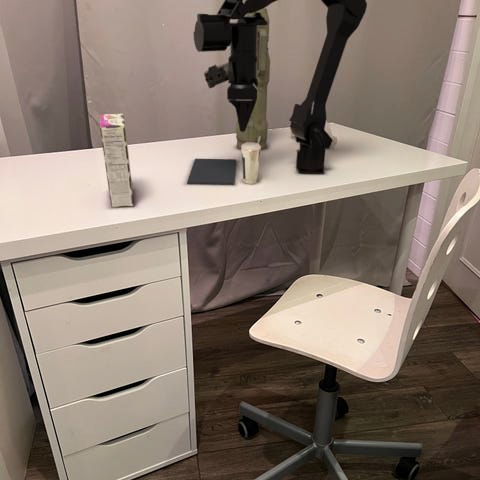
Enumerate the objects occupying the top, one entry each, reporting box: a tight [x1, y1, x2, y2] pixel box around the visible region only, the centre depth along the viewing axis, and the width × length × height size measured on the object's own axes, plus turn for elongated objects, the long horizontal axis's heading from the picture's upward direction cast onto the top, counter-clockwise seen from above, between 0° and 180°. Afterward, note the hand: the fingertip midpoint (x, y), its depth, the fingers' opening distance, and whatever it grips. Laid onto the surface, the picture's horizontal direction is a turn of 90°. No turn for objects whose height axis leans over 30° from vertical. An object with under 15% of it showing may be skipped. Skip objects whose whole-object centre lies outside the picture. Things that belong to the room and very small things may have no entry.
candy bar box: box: [99, 113, 135, 209], centre depth 107 cm, size 11×5×16 cm, turn 12°
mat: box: [186, 158, 237, 186], centre depth 129 cm, size 11×20×1 cm, turn 179°
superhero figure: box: [290, 119, 338, 148], centre depth 153 cm, size 10×9×20 cm
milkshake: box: [240, 136, 262, 185], centre depth 121 cm, size 4×5×10 cm
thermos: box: [235, 7, 271, 151], centre depth 141 cm, size 9×12×35 cm
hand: (243, 126), depth 119 cm, fingers open, 9 cm apart
